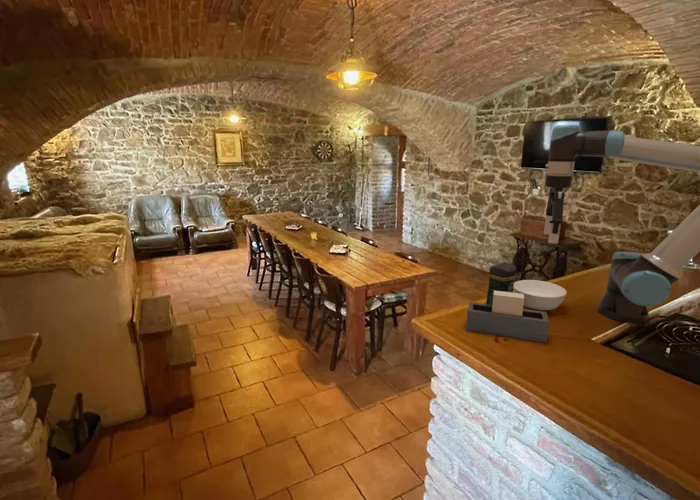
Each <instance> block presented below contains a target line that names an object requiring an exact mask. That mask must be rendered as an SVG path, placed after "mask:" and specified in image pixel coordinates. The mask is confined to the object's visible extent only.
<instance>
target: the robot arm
mask: <svg viewBox="0 0 700 500" xmlns="http://www.w3.org/2000/svg"><path fill="white" fill-rule="evenodd" d="M549 143H550V144H549V152H548V161H547V164H545V168H547V169H546V174H547V175H546V176H545V182H544V186H545V187H546V188H549V192H548V200H547V204H546V209H545V215H546V216H545V222H544V227H543V228H544V229H543V235H548V244H555V245H556V244H559V239H560V231H561V224H562V223H563V221H564V218H563V217H564V204H565V203H564V200H565V194H566V193H565V191H564V190H563V189H569V188H571V187H572V181H573V176H572V175H573V174H574V169H575V163H576V157H600V158H605V159H606V158H607V159H613V160H620V161H625V162H632V163H637V164H638V163H639V164H645V165H649V166H651V165H652V166H656V167H664V168H669V169H675V170H683V171H690V172H695V173H696V174H697V175H698V176H699V177H700V145H693V144H687V143H685V144H684V143H678V142H671V141H664V140H658V139H657V140H655V139H647V138H641V137H633V136H626V135H625V133H624V132H623V131H622V130H594V131H593V130H592V131H591V130H590V131H585V130H584V131H582V130H581V128H580V125H579V124H558V125H555V126H553V128H552V133H551V138H550V142H549ZM698 253H700V204H699V205H697V207H695V209H693V211H692V212H691V213H690V214H688V215H687V216H686V217H685V218H684V219H683V221H681V223H679V224H678V225H677V227H675V228H674V229H673V230H672V232H670V233H669V234H668V235H667V236H666V237H665V238H664V239H663V240H662V241H661V242H660V243H659V244H658V245H657V246H656V247H655V248H654V249H653V250H652V251H651V252H648V253H647V252H646V253H642V252H635V251H634V252H633V251H615V252H614V253H613V254H612V258H611V259H610V261H611V262H610V263H611V264H610V268H609V273H608V274H609V275H608V278H607V279H608V280H607V283H606V284H607V287H606V291H605V292H604V294H602V297H601V298H600V300H599V301H598V303H597V312H598V313H599V314H600V315H602V316H603V317H604V316H605V317H607V318H610V319H612V320H614V321H620V322H624V323H633V324H640V323H645V322H648V320H649V315H650V314H649V307H652V306H657V305H660V304H661V303H664V302H665V301H666V300H667V299H668V298H669V297H670V295H671V293H672V286H673V285H674V284H675V283H676V282H677V281H678V280H679V279H680V278H681V277H680V271H681V269H682V268H683V267H684V266H685V265H687V264H688V263H689V261H690V260H692V259H694V257H695V256H696V255H697V254H698Z"/></svg>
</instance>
